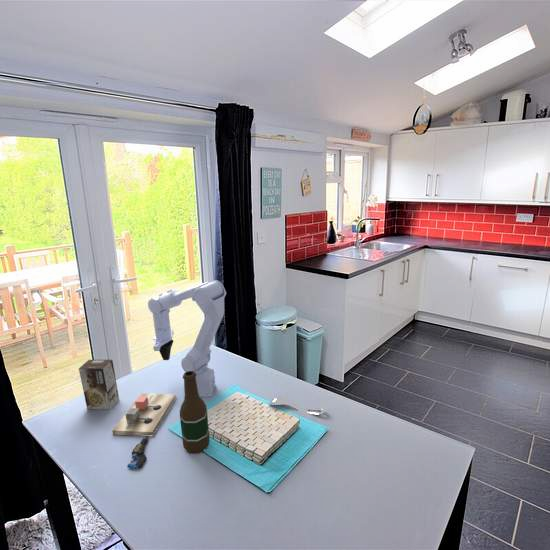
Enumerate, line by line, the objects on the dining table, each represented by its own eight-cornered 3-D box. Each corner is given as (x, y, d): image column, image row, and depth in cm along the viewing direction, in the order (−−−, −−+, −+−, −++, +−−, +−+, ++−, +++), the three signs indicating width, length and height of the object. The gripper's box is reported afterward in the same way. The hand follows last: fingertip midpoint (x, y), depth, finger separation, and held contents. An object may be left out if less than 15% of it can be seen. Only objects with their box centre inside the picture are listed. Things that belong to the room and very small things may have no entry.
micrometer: (139, 466, 99) (122, 464, 99) (140, 471, 99) (123, 470, 100) (158, 435, 110) (142, 434, 111) (159, 440, 110) (143, 439, 111)
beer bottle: (215, 440, 109) (208, 369, 103) (199, 458, 102) (191, 383, 96) (194, 433, 112) (186, 364, 106) (177, 450, 106) (168, 377, 99)
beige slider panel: (176, 397, 131) (174, 385, 130) (152, 436, 112) (150, 422, 111) (141, 396, 132) (140, 384, 131) (113, 434, 113) (110, 420, 112)
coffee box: (120, 399, 131) (113, 359, 127) (110, 410, 125) (103, 368, 121) (96, 398, 132) (89, 358, 128) (85, 409, 126) (77, 368, 122)
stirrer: (326, 401, 120) (323, 409, 116) (327, 410, 121) (324, 419, 117) (271, 393, 128) (266, 400, 124) (272, 402, 129) (267, 410, 124)
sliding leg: (159, 404, 124) (158, 397, 123) (155, 410, 121) (154, 402, 120) (140, 404, 125) (139, 396, 124) (136, 409, 122) (135, 401, 121)
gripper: (160, 319, 144) (163, 350, 147) (143, 334, 130) (148, 368, 133) (177, 319, 143) (180, 350, 146) (162, 335, 129) (166, 369, 133)
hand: (166, 359), depth 140 cm, fingers closed
